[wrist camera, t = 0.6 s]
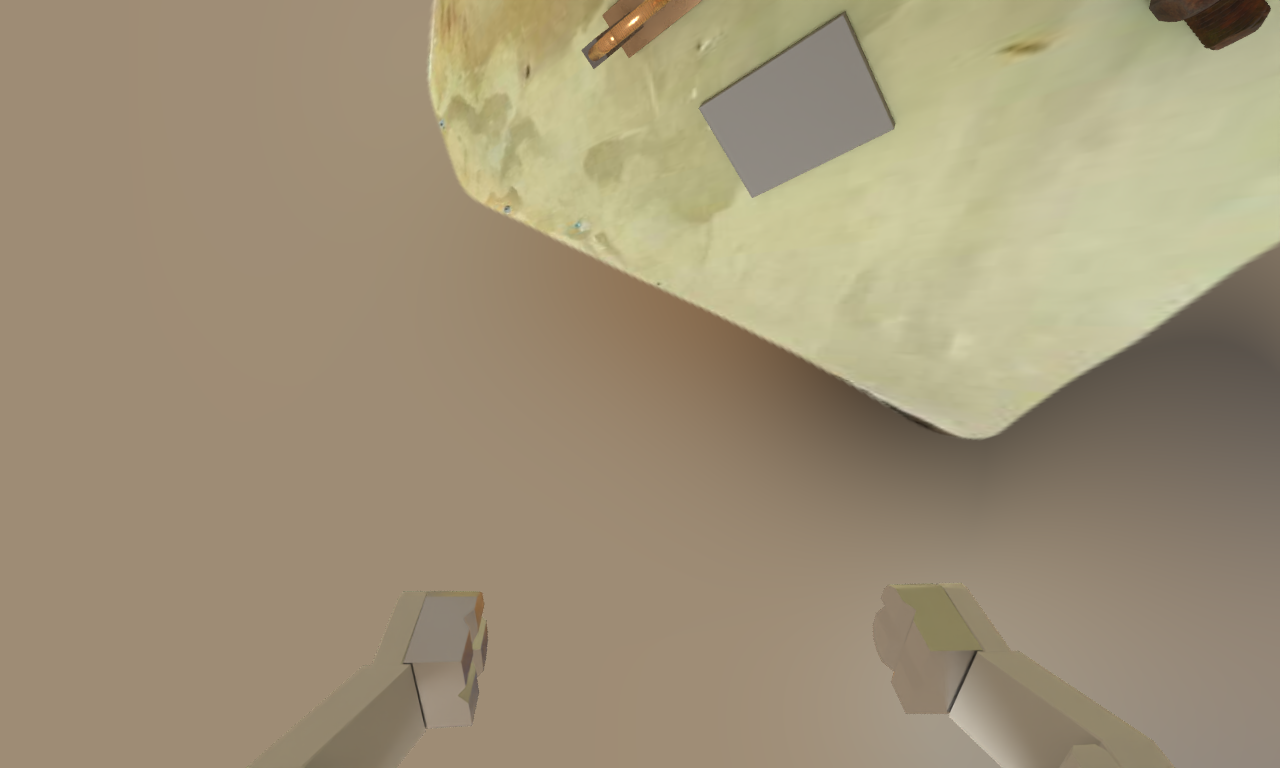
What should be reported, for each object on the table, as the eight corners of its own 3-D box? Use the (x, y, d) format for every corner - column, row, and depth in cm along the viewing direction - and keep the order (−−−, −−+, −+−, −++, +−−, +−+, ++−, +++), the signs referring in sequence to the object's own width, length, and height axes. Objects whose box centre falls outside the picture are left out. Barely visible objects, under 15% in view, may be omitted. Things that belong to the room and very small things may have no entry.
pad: (844, 11, 46) (843, 14, 46) (895, 124, 51) (894, 128, 50) (701, 104, 55) (698, 108, 55) (754, 193, 60) (752, 198, 59)
